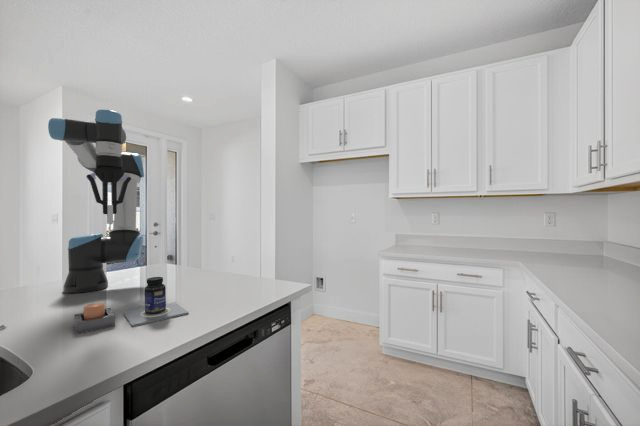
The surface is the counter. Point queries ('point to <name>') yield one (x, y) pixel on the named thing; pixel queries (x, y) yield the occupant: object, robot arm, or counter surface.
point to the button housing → (94, 321)
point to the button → (94, 310)
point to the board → (142, 318)
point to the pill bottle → (155, 296)
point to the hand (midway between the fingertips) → (109, 223)
